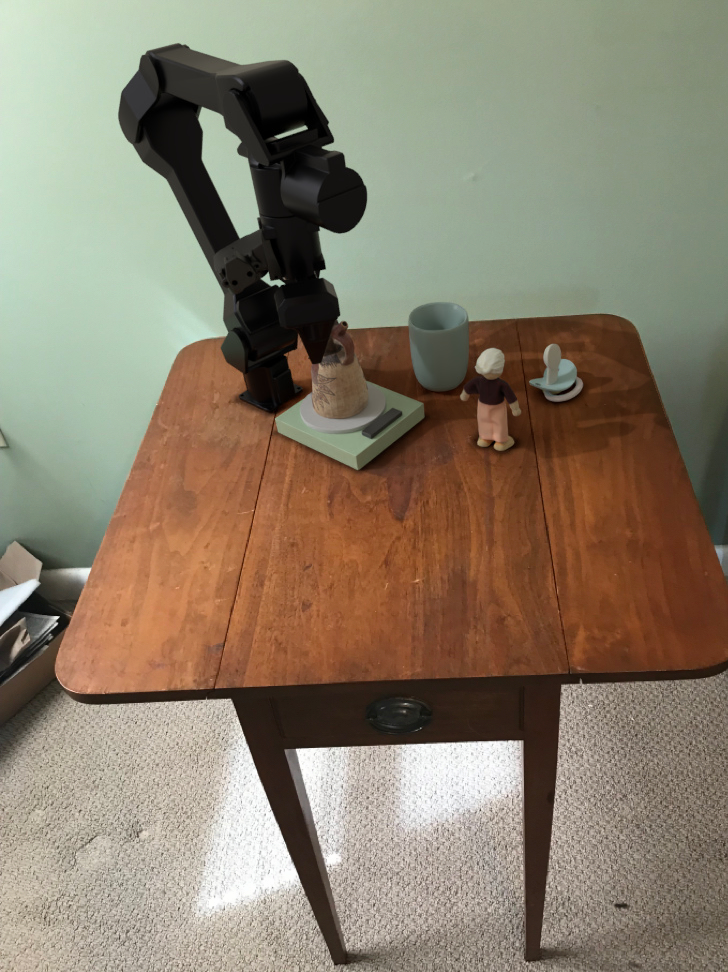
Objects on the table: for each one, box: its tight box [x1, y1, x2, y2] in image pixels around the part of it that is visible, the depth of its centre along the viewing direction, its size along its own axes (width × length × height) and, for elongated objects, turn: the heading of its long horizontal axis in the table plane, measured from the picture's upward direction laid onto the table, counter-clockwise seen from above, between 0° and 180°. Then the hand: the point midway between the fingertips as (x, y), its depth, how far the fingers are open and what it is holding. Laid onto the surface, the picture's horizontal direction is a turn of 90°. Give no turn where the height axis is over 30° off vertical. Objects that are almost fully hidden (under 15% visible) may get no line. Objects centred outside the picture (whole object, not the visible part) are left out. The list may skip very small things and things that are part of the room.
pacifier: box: [528, 343, 584, 403], centre depth 99 cm, size 7×6×6 cm
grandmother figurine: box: [459, 347, 522, 452], centre depth 90 cm, size 8×4×13 cm, turn 71°
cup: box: [407, 301, 470, 393], centre depth 101 cm, size 8×8×10 cm
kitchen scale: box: [274, 380, 425, 471], centre depth 98 cm, size 14×13×3 cm
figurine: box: [307, 319, 369, 419], centre depth 94 cm, size 7×7×12 cm
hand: (311, 343), depth 89 cm, fingers open, 9 cm apart
